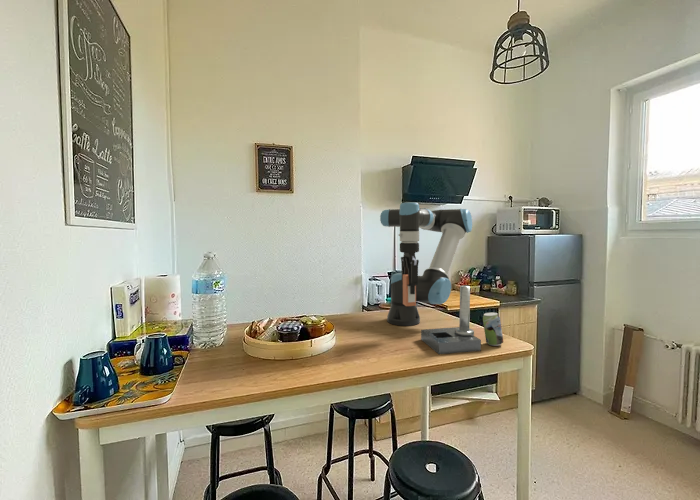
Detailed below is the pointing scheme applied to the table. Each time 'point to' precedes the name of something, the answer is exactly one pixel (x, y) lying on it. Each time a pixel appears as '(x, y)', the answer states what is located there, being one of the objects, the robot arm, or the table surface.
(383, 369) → the table surface
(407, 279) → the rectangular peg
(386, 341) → the table surface
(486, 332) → the beverage can
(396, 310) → the robot arm
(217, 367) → the table surface
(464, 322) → the socket base with post
